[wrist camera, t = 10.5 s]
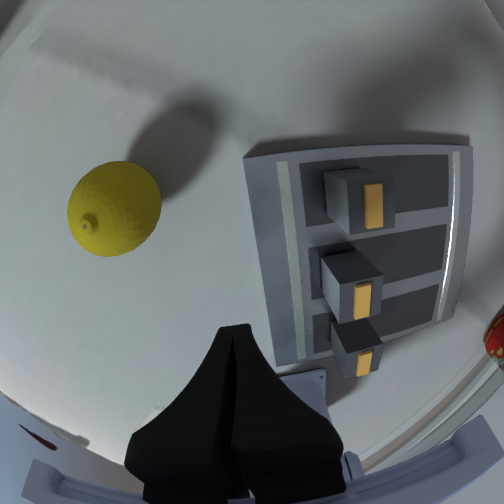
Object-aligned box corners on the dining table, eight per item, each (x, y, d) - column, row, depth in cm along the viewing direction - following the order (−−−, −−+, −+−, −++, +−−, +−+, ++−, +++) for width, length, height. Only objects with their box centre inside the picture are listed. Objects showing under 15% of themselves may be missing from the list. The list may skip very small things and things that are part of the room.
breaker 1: (366, 210, 18) (397, 229, 14) (327, 215, 18) (351, 237, 14) (364, 167, 17) (397, 177, 13) (323, 171, 17) (348, 181, 13)
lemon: (160, 145, 18) (113, 151, 10) (182, 218, 20) (153, 265, 12) (95, 172, 18) (31, 194, 10) (119, 238, 20) (69, 288, 13)
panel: (445, 310, 25) (453, 318, 24) (274, 355, 25) (276, 367, 24) (461, 144, 18) (473, 146, 17) (242, 157, 18) (243, 159, 17)
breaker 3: (361, 339, 23) (379, 372, 19) (330, 347, 23) (345, 382, 19) (364, 314, 22) (384, 346, 18) (331, 321, 22) (347, 356, 18)
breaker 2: (358, 285, 21) (381, 316, 17) (322, 292, 21) (340, 326, 17) (359, 250, 19) (385, 277, 15) (321, 257, 19) (341, 287, 15)
